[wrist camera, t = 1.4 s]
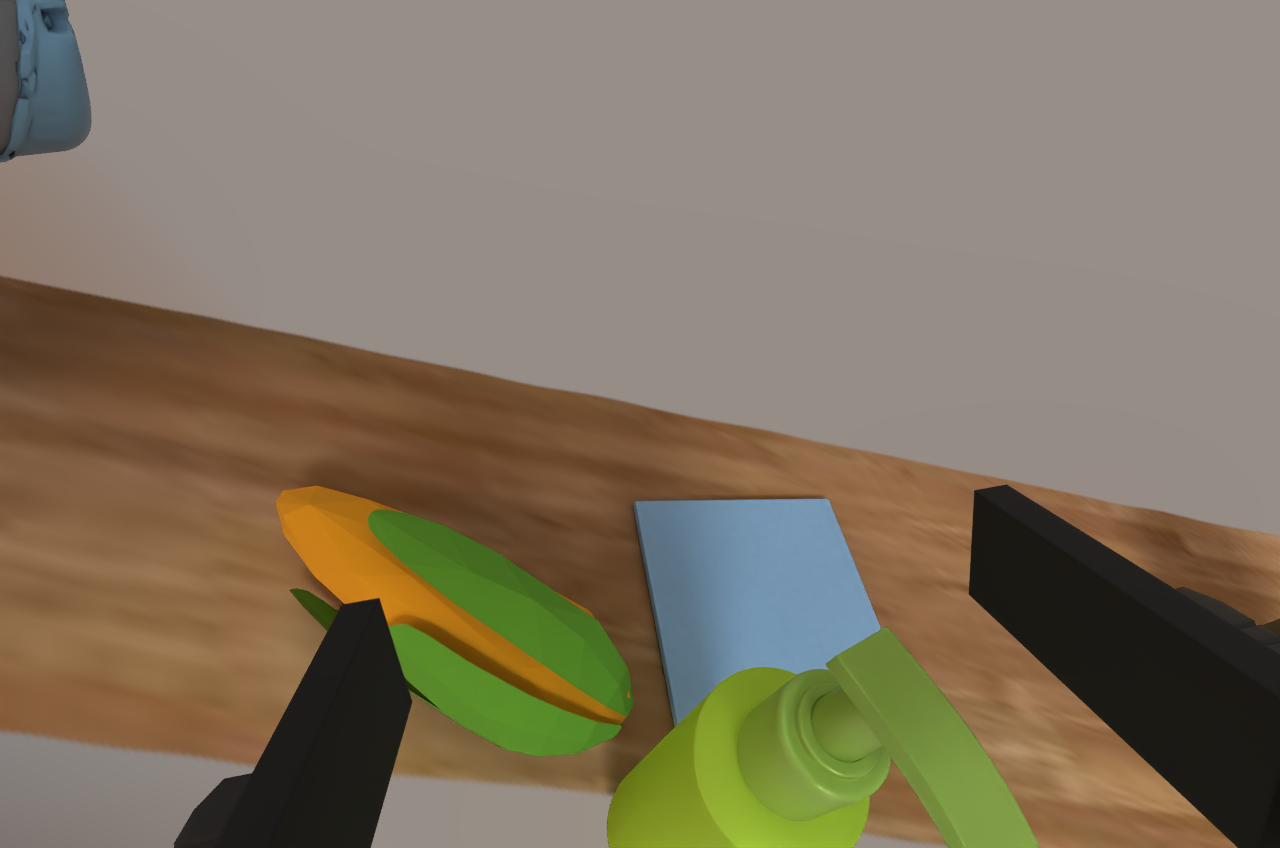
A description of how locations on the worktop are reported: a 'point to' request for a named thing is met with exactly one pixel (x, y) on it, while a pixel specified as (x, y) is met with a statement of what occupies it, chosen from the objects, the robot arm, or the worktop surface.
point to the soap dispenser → (815, 761)
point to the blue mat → (747, 589)
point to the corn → (465, 624)
